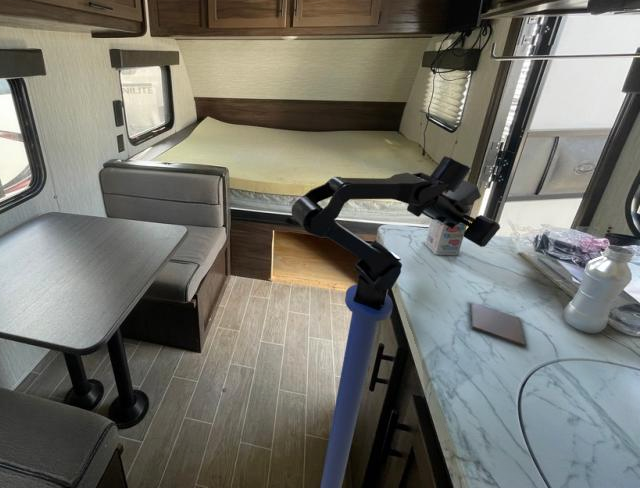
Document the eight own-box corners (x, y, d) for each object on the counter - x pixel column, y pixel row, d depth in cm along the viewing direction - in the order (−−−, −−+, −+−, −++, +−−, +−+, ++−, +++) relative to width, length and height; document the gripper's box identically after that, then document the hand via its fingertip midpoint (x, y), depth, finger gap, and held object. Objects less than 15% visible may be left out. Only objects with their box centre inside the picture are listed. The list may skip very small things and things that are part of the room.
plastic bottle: (610, 339, 69) (656, 260, 61) (574, 335, 69) (615, 257, 62) (585, 317, 74) (624, 243, 67) (552, 313, 75) (587, 240, 68)
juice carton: (424, 243, 104) (441, 179, 96) (445, 243, 104) (463, 180, 96) (435, 254, 98) (454, 188, 90) (457, 255, 98) (478, 188, 89)
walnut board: (471, 328, 71) (472, 326, 71) (470, 304, 78) (471, 302, 78) (523, 347, 66) (525, 344, 66) (517, 320, 73) (519, 317, 73)
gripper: (498, 191, 66) (532, 219, 72) (427, 164, 83) (460, 189, 89) (463, 235, 68) (499, 258, 74) (401, 200, 85) (435, 221, 91)
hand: (471, 228), depth 82 cm, fingers open, 9 cm apart
